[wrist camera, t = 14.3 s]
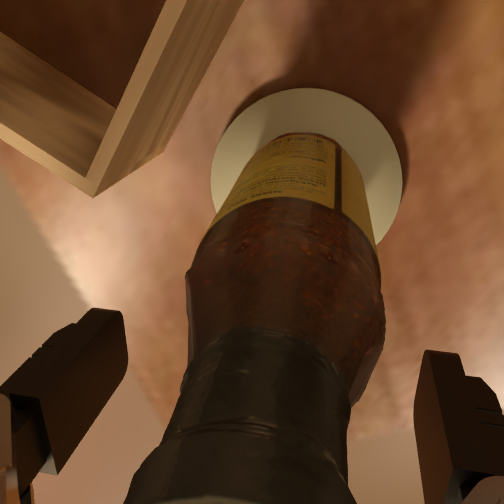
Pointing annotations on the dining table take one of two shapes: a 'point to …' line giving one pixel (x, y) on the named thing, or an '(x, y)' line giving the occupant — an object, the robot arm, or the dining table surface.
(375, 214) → the saucer
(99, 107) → the caddy
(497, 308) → the dining table surface
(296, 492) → the sauce bottle
